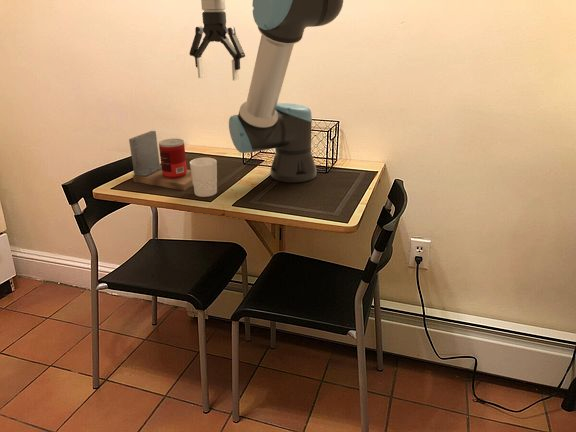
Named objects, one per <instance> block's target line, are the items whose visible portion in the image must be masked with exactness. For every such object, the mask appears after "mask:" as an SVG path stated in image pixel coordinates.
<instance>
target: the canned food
mask: <svg viewBox="0 0 576 432" xmlns="http://www.w3.org/2000/svg"><path fill="white" fill-rule="evenodd" d="M158 151H159V159H160V164H161V166H162V174H163V176H164V177H165V178H169V179H176V178H181V177H183V176H185V175H186V173H187V170H188V167H187V161H186V160H187V159H186V149H185V142H184V139H182V138H166V139H163V140H160V141H159V142H158Z"/></svg>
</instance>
